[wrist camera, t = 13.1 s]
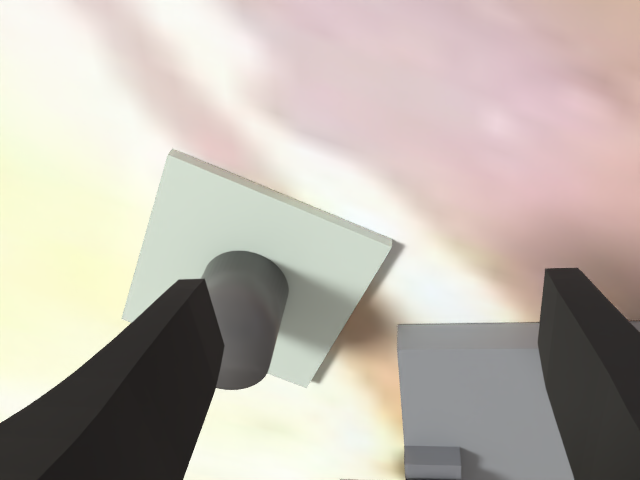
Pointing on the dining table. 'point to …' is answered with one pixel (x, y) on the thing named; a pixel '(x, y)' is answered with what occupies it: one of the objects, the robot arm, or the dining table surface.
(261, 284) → the lid
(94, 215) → the dining table surface
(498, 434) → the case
